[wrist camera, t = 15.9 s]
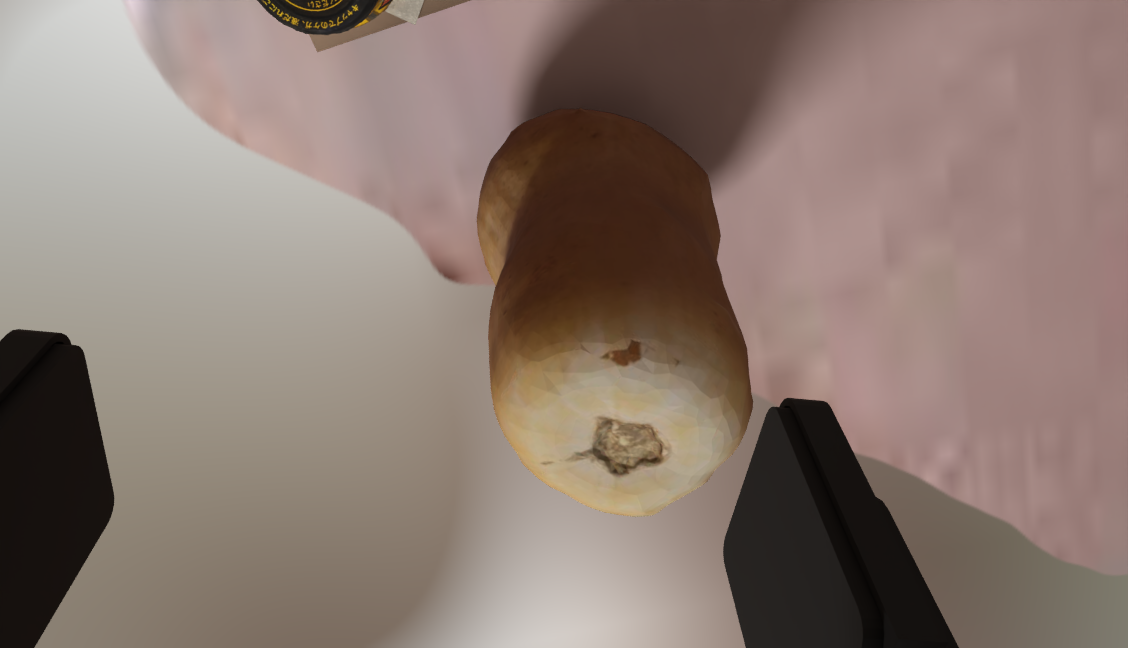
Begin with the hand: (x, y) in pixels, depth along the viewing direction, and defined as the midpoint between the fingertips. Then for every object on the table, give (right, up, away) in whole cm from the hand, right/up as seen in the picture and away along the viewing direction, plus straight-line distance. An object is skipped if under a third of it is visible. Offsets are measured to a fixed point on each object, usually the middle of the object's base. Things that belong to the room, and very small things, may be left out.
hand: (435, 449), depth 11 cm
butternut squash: (+4, +11, +41) cm, 43 cm away
